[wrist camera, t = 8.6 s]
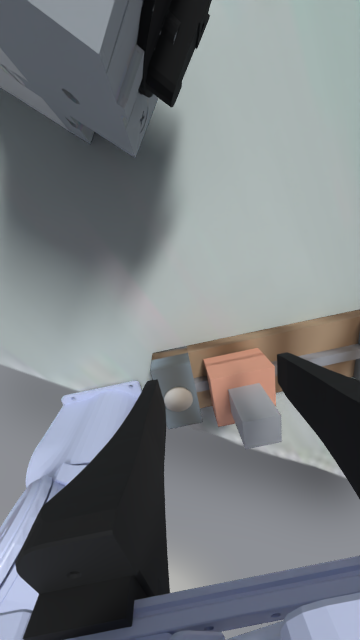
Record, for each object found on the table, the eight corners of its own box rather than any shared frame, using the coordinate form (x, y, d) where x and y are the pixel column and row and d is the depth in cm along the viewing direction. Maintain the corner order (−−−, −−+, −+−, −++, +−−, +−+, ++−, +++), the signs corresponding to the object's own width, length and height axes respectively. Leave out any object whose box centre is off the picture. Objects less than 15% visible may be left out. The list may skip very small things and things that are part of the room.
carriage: (211, 401, 23) (229, 464, 16) (203, 359, 21) (220, 411, 14) (260, 391, 23) (299, 450, 16) (257, 347, 21) (301, 395, 14)
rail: (167, 405, 25) (168, 431, 22) (152, 353, 22) (150, 373, 19) (373, 363, 25) (407, 382, 21) (384, 304, 22) (426, 315, 19)
